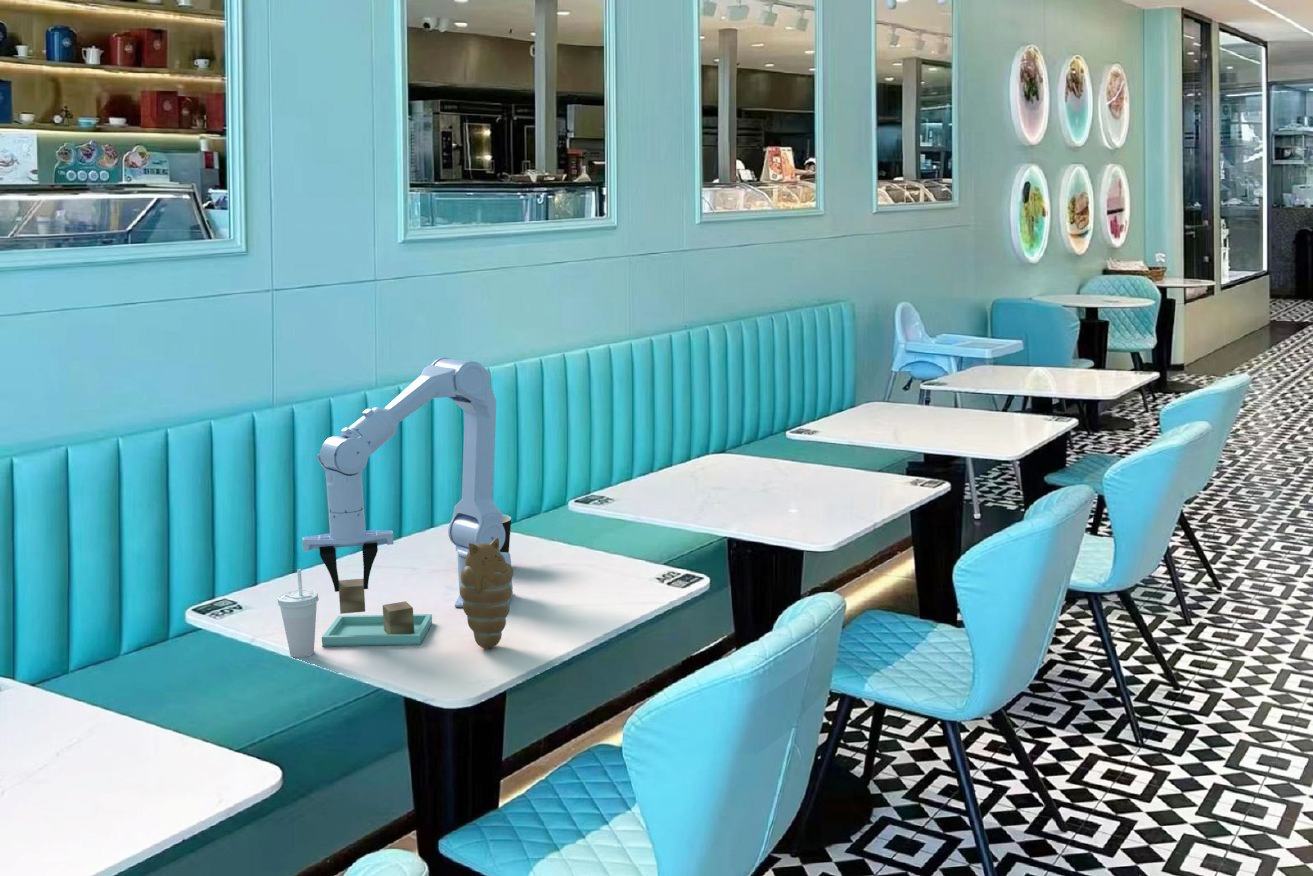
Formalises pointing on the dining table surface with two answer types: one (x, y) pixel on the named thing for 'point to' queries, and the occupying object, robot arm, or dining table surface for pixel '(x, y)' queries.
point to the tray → (372, 631)
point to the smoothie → (299, 619)
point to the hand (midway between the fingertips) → (351, 588)
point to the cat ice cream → (486, 592)
